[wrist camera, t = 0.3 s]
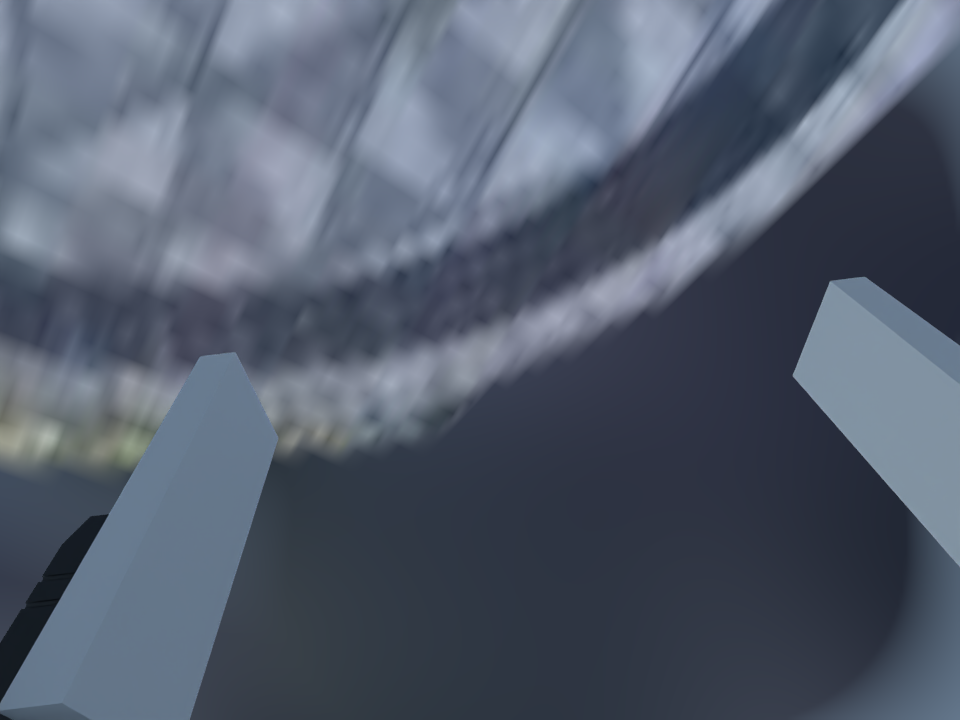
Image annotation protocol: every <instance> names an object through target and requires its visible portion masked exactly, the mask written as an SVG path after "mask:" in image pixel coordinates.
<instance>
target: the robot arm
mask: <svg viewBox="0 0 960 720" xmlns="http://www.w3.org/2000/svg"><path fill="white" fill-rule="evenodd" d="M793 377H794V378H795V379H796V380H797V381H798V382H799V384H800V385H801V386H802V387H803V388H804V389H805V390H806V392H807V393H808V394H809V395H810V396H811V397H812V398H813V400H814V401H815V402H816V403H817V404H818V405H819V406H820V408H821V409H822V410H823V411H824V412H825V413H826V414H827V416H828V417H829V418H830V419H831V420H832V421H833V422H834V424H835V425H836V426H837V427H838V428H839V429H840V430H841V431H842V433H843V434H844V435H845V436H846V437H847V438H848V439H849V441H850V442H851V443H852V444H853V445H854V446H855V447H856V449H857V450H858V451H859V452H860V453H861V454H862V456H863V457H864V458H865V459H866V460H867V461H868V462H869V463H870V465H871V466H872V467H873V468H874V469H875V470H876V472H877V473H878V474H879V475H880V476H881V477H882V478H883V480H884V481H885V482H886V483H887V484H888V485H889V486H890V488H891V489H892V490H893V491H894V492H895V493H896V494H897V496H898V497H899V498H900V499H901V500H902V501H903V502H904V504H905V505H907V507H908V508H909V509H910V510H911V512H912V513H913V514H914V515H915V516H916V517H917V518H918V520H919V521H920V522H921V523H922V524H923V525H924V526H925V527H926V529H927V530H928V531H929V532H930V533H931V534H932V536H933V537H934V538H935V539H936V540H937V541H938V542H939V544H940V545H941V546H942V547H943V548H944V549H945V550H946V551H947V553H948V554H949V555H950V556H951V557H952V558H953V560H954V561H955V562H956V563H957V564H958V565H959V566H960V346H959V345H958V344H956V343H955V342H954V341H952V340H951V339H950V338H948V337H947V336H945V335H944V334H943V333H941V332H940V331H939V330H937V329H936V328H934V327H933V326H932V325H930V324H929V323H927V322H926V321H925V320H923V319H922V318H921V317H919V316H918V315H916V314H915V313H914V312H912V311H911V310H910V309H908V308H907V307H906V306H904V305H903V304H901V303H900V302H899V301H897V300H896V299H894V298H893V297H892V296H890V295H889V294H888V293H886V292H885V291H884V290H882V289H881V288H879V287H878V286H876V285H875V284H874V283H872V282H871V281H870V280H868V279H867V278H866V277H860V278H851V279H843V280H835V281H830V283H829V286H828V288H827V291H826V293H825V296H824V298H823V301H822V303H821V306H820V308H819V311H818V313H817V316H816V318H815V321H814V323H813V326H812V329H811V331H810V334H809V336H808V339H807V341H806V344H805V346H804V349H803V351H802V354H801V356H800V359H799V361H798V364H797V366H796V369H795V371H794V374H793ZM277 440H278V436H277V434H276V432H275V430H274V428H273V426H272V424H271V422H270V420H269V418H268V416H267V414H266V412H265V410H264V408H263V406H262V405H261V403H260V401H259V399H258V397H257V395H256V393H255V391H254V389H253V387H252V385H251V383H250V381H249V379H248V377H247V375H246V373H245V371H244V369H243V367H242V365H241V363H240V361H239V359H238V357H237V355H236V353H235V352H233V353H225V354H216V355H208V356H200V358H199V359H198V361H197V363H196V365H195V366H194V368H193V370H192V372H191V373H190V375H189V377H188V379H187V380H186V382H185V384H184V385H183V387H182V389H181V391H180V392H179V394H178V396H177V398H176V399H175V401H174V403H173V405H172V406H171V408H170V410H169V411H168V413H167V415H166V417H165V418H164V420H163V422H162V424H161V425H160V427H159V429H158V431H157V432H156V434H155V436H154V437H153V439H152V441H151V443H150V444H149V446H148V448H147V450H146V451H145V453H144V455H143V456H142V458H141V460H140V462H139V463H138V465H137V467H136V469H135V470H134V472H133V474H132V476H131V477H130V479H129V481H128V483H127V484H126V486H125V488H124V489H123V491H122V493H121V495H120V497H119V498H118V500H117V502H116V503H115V505H114V507H113V509H112V510H111V512H110V514H107V515H100V516H91V517H90V518H89V519H88V520H87V521H86V522H84V524H82V525H81V527H80V528H79V529H78V530H76V531H75V532H74V533H73V534H72V535H71V536H70V537H69V538H68V539H67V540H66V541H65V542H64V543H63V544H62V546H61V547H60V549H59V550H58V552H57V553H56V555H55V557H54V558H53V560H52V561H51V563H50V565H49V566H48V568H47V569H46V571H45V573H44V574H43V576H42V577H43V581H42V582H38V584H37V585H36V587H35V588H34V590H33V592H32V593H31V595H30V596H29V598H28V600H27V601H26V608H25V609H22V610H21V611H20V613H19V614H18V616H17V617H16V619H15V620H14V622H13V624H12V625H11V627H10V628H9V630H8V631H7V633H6V635H5V636H4V638H3V640H2V641H1V643H0V720H189V719H190V716H191V713H192V710H193V707H194V703H195V700H196V697H197V694H198V691H199V688H200V684H201V681H202V678H203V675H204V672H205V668H206V665H207V662H208V659H209V656H210V653H211V649H212V646H213V643H214V640H215V637H216V634H217V631H218V627H219V624H220V621H221V618H222V614H223V612H224V608H225V605H226V602H227V599H228V595H229V593H230V589H231V586H232V582H233V580H234V577H235V573H236V570H237V567H238V564H239V561H240V558H241V555H242V551H243V548H244V545H245V542H246V539H247V536H248V532H249V529H250V526H251V523H252V520H253V517H254V513H255V510H256V507H257V504H258V501H259V497H260V494H261V491H262V488H263V485H264V482H265V478H266V475H267V472H268V469H269V466H270V463H271V459H272V456H273V453H274V450H275V447H276V444H277Z"/></svg>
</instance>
